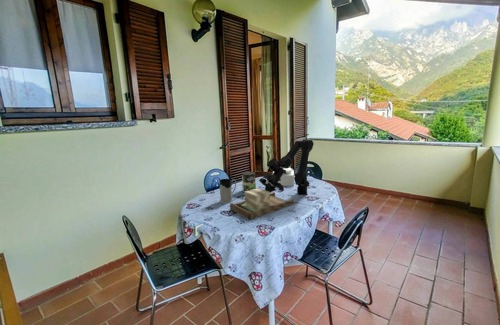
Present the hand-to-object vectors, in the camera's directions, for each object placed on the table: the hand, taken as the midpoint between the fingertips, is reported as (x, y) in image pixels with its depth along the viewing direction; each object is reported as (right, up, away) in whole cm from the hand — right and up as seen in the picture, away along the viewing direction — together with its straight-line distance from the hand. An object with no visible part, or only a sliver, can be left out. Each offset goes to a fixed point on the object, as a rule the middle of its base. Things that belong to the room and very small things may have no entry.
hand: (264, 195), depth 157 cm
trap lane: (-1, -7, +1) cm, 7 cm away
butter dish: (+19, +3, +52) cm, 55 cm away
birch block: (-4, -6, -2) cm, 8 cm away
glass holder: (-24, -6, +15) cm, 29 cm away
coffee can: (-10, -1, +34) cm, 35 cm away
